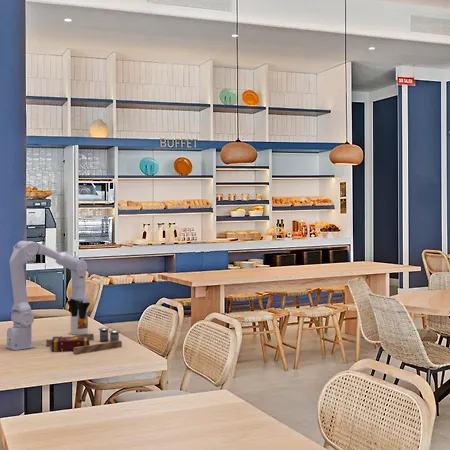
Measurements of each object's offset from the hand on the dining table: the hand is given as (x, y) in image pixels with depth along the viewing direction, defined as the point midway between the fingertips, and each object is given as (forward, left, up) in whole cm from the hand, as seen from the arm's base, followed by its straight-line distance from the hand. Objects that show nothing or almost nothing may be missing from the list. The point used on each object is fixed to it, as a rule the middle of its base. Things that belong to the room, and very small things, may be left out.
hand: (78, 317), depth 295 cm
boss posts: (+7, -14, -10) cm, 18 cm away
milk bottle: (+9, +13, -10) cm, 19 cm away
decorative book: (-12, -14, -10) cm, 21 cm away
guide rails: (-5, -14, -10) cm, 18 cm away
